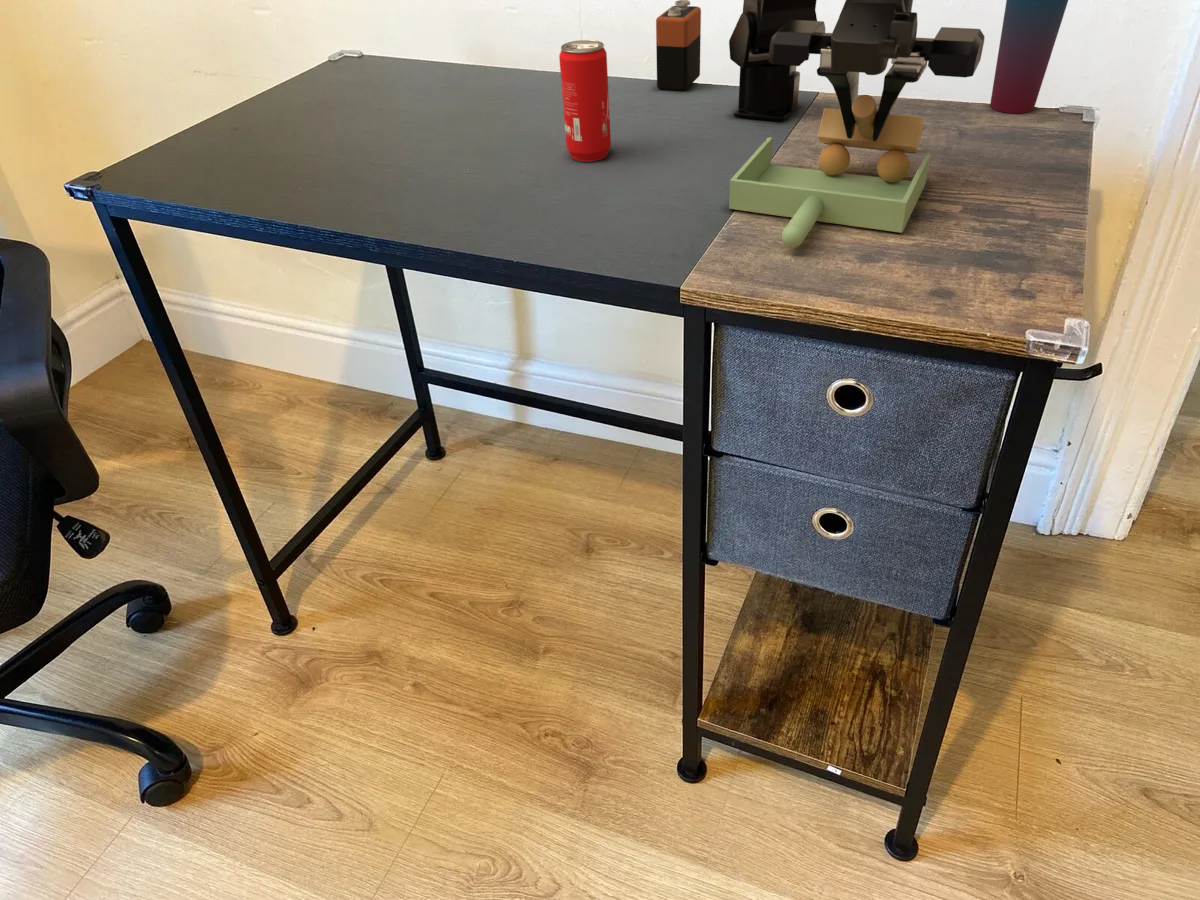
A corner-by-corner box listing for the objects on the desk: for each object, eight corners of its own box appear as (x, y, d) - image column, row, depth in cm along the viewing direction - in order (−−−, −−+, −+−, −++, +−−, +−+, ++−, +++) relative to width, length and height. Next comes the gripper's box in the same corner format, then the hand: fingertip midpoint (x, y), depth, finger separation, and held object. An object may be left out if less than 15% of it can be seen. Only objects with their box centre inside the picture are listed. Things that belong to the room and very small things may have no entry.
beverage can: (568, 147, 105) (560, 40, 97) (611, 145, 104) (606, 38, 97) (565, 164, 101) (556, 53, 93) (610, 162, 100) (605, 51, 93)
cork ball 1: (816, 150, 91) (824, 136, 93) (814, 178, 93) (821, 165, 95) (847, 153, 90) (854, 140, 92) (844, 182, 92) (851, 168, 94)
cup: (1046, 116, 104) (1084, -25, 94) (986, 115, 105) (1016, -24, 96) (1036, 97, 109) (1071, -38, 100) (978, 97, 110) (1007, -37, 101)
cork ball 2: (875, 157, 89) (882, 143, 91) (872, 186, 91) (879, 172, 93) (908, 159, 88) (914, 145, 90) (904, 189, 90) (910, 175, 92)
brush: (821, 145, 94) (808, 116, 86) (827, 117, 94) (815, 85, 86) (917, 156, 91) (913, 126, 82) (924, 127, 90) (921, 94, 82)
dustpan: (766, 165, 97) (768, 136, 95) (925, 184, 91) (930, 154, 89) (700, 244, 83) (701, 212, 81) (882, 273, 77) (888, 239, 75)
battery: (700, 76, 123) (702, -2, 117) (686, 91, 119) (686, 11, 112) (671, 75, 125) (671, -3, 119) (655, 89, 120) (654, 10, 114)
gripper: (755, -20, 76) (747, 157, 86) (984, -13, 69) (947, 179, 79) (791, -46, 83) (780, 120, 93) (1001, -42, 76) (965, 137, 86)
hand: (862, 138), depth 88 cm, fingers closed on brush, 2 cm apart
